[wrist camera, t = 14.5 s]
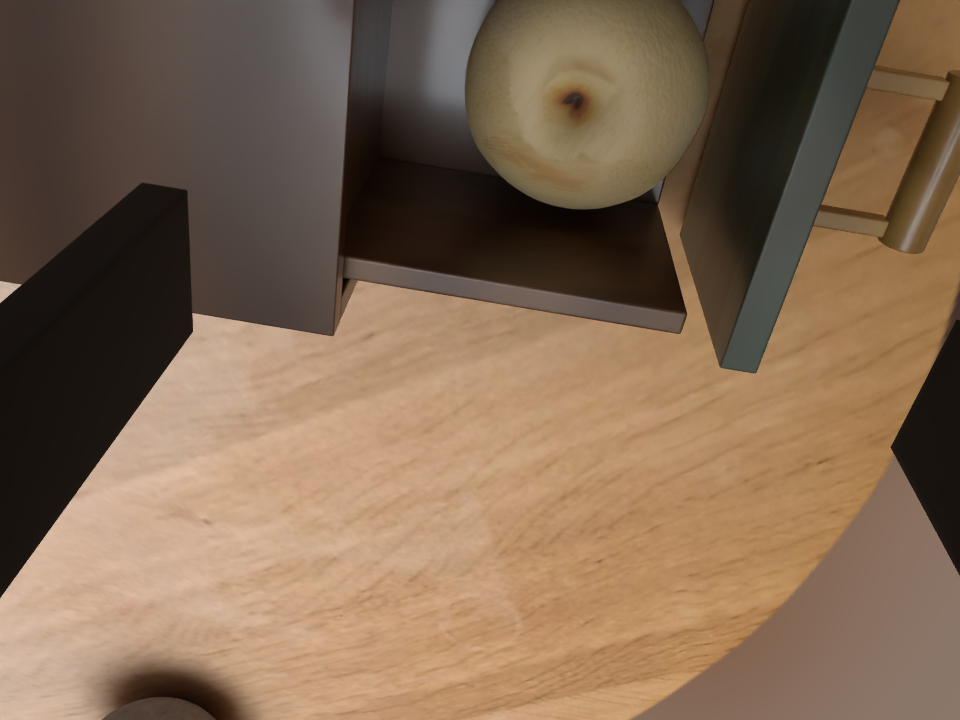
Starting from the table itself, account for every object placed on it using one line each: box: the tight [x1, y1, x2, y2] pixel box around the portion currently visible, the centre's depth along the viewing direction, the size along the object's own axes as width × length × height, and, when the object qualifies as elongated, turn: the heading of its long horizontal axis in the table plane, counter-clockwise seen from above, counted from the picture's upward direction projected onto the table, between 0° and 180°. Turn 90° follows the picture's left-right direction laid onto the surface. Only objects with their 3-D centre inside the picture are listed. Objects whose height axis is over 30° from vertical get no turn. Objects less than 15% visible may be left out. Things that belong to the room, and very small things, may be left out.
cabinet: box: [0, 0, 362, 336], centre depth 28 cm, size 16×14×12 cm
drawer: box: [343, 0, 960, 373], centre depth 28 cm, size 20×13×10 cm, turn 82°
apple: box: [465, 0, 709, 209], centre depth 28 cm, size 8×8×8 cm
